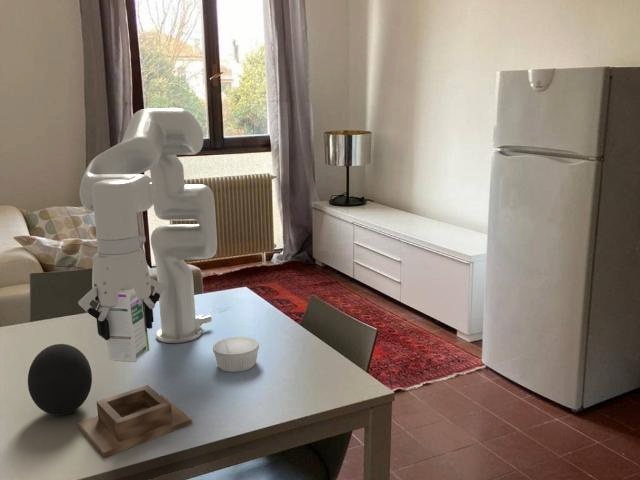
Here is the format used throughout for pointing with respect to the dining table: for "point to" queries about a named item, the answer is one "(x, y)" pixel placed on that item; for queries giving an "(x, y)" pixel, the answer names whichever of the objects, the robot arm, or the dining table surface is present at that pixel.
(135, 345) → the syrup box
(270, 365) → the dining table surface
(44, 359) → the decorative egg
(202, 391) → the dining table surface
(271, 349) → the dining table surface
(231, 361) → the ramekin
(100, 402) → the walnut holder
